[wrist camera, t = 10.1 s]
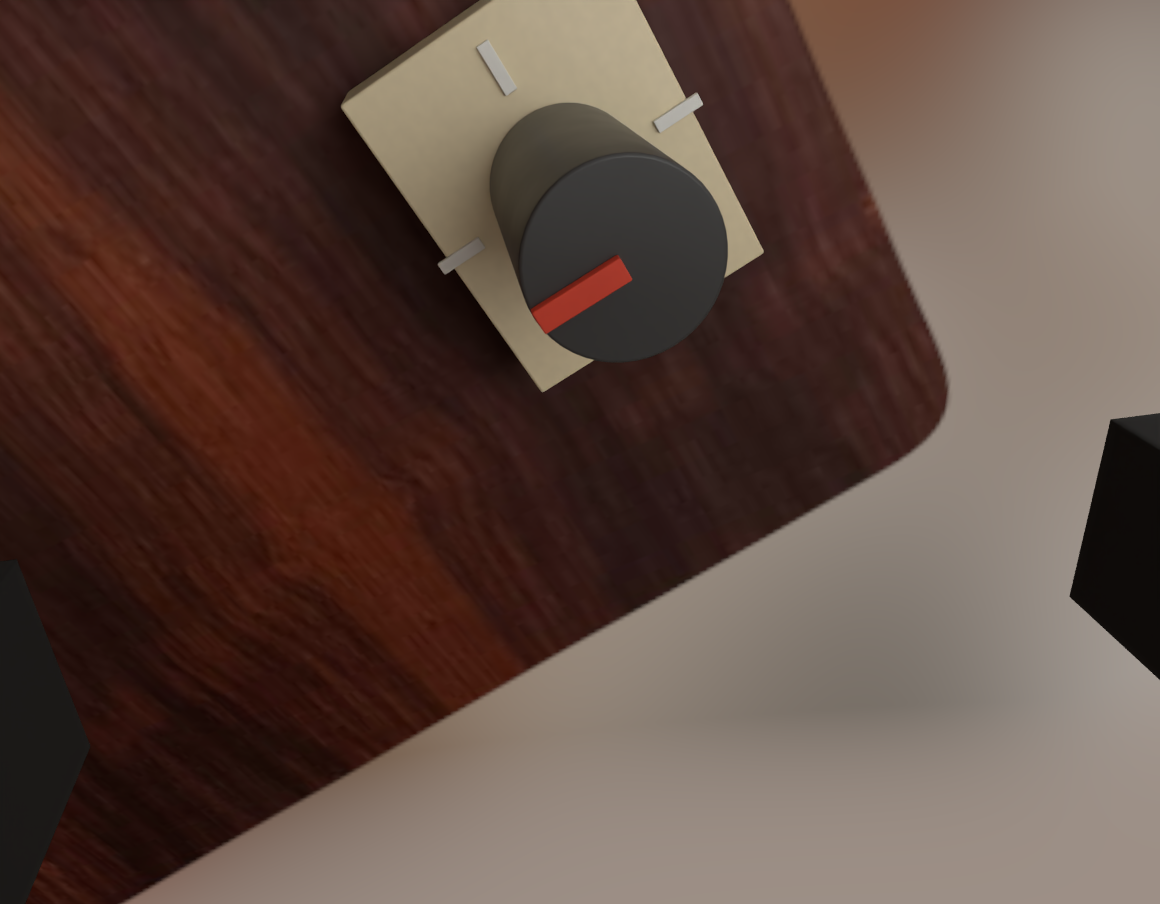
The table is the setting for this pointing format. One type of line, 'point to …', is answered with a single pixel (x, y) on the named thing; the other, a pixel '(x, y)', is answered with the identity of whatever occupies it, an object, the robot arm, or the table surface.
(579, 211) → the dial
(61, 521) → the table surface
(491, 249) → the dial panel
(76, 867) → the table surface
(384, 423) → the table surface
